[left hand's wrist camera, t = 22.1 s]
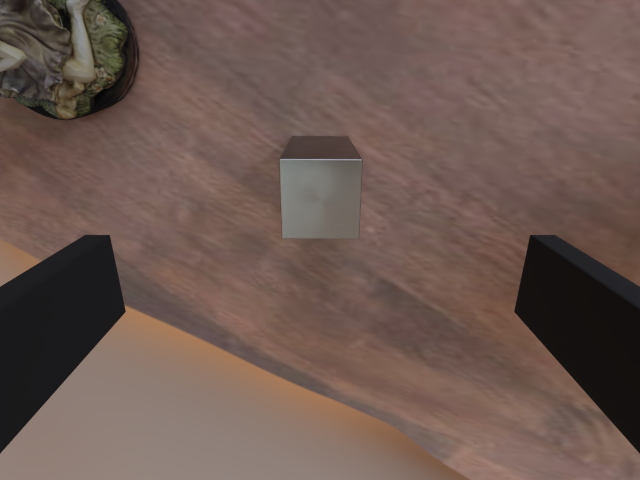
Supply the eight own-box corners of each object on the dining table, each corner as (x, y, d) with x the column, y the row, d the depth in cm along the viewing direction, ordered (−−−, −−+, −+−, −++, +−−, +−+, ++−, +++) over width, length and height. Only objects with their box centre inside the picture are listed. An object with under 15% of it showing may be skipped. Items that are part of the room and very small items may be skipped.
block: (346, 193, 35) (359, 239, 24) (293, 193, 35) (281, 239, 24) (348, 136, 33) (362, 159, 22) (292, 136, 33) (278, 158, 22)
